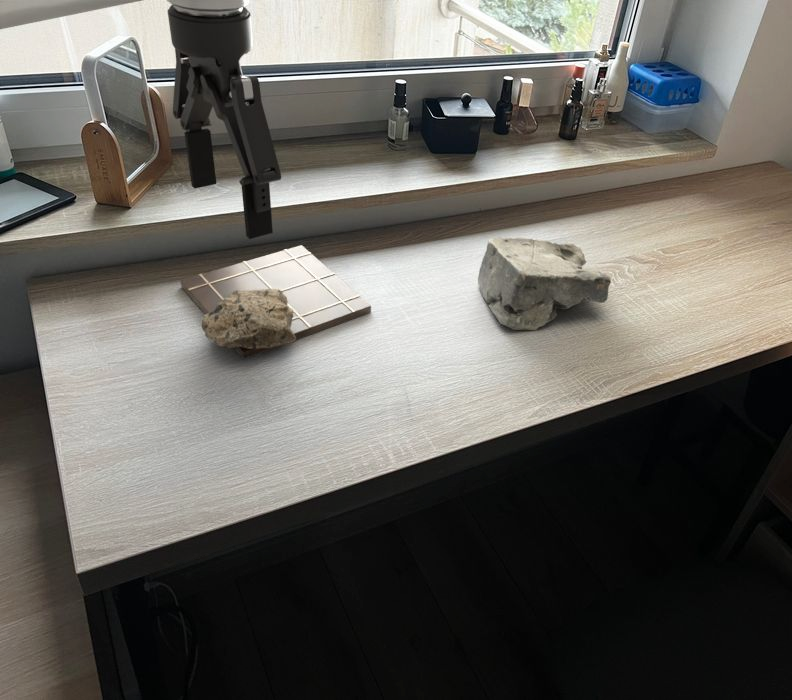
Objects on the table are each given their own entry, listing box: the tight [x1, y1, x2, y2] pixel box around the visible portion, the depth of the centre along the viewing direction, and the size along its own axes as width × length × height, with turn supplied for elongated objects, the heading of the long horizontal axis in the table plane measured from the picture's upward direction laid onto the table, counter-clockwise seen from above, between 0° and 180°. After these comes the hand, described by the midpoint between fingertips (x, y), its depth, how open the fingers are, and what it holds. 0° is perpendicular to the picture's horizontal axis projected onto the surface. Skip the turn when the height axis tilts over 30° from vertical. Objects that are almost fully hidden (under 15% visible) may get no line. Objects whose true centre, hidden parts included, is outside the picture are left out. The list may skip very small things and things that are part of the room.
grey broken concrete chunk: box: [477, 236, 612, 331], centre depth 111 cm, size 16×18×10 cm
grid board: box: [179, 244, 372, 360], centre depth 106 cm, size 20×20×1 cm
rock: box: [201, 289, 297, 349], centre depth 96 cm, size 11×12×4 cm
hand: (230, 209), depth 81 cm, fingers open, 13 cm apart
